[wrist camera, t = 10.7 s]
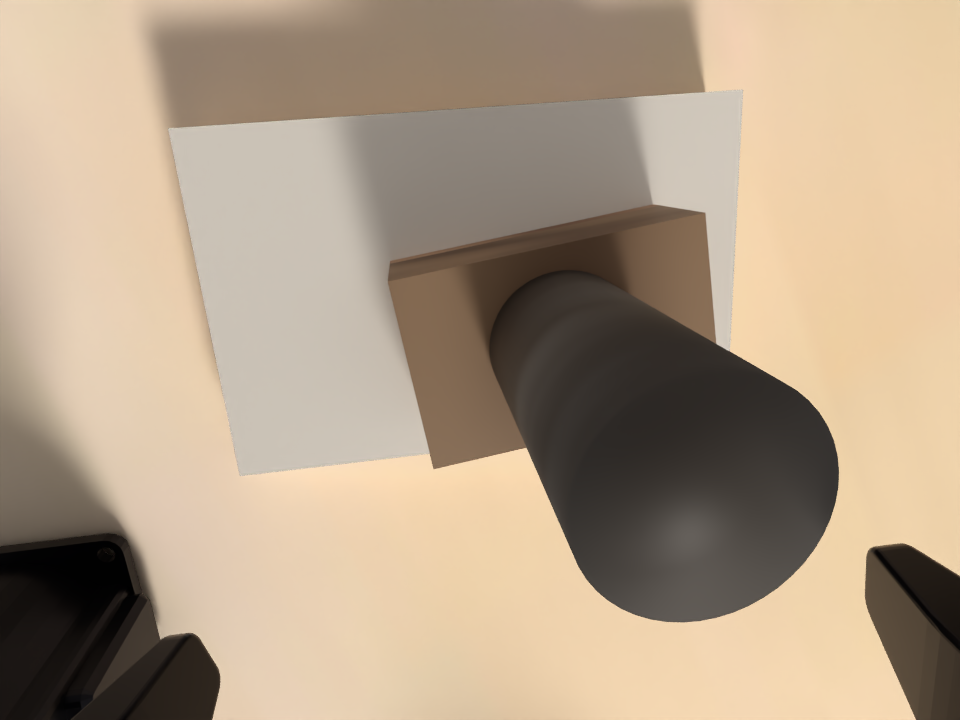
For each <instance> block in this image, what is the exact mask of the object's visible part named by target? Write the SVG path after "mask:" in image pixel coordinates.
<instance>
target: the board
mask: <svg viewBox="0 0 960 720" xmlns="http://www.w3.org/2000/svg"><path fill="white" fill-rule="evenodd" d="M742 100H743V90H730V91H715V92H700V93H685V94H670V95H656V96H641V97H626V98H611V99H596V100H581V101H566V102H552V103H537V104H522V105H507V106H492V107H477V108H463V109H448V110H433V111H418V112H403V113H388V114H374V115H359V116H344V117H329V118H314V119H299V120H285V121H270V122H255V123H240V124H225V125H210V126H196V127H181V128H168V131H169V136H170V141H171V145H172V150H173V155H174V160H175V165H176V170H177V174H178V179H179V184H180V189H181V194H182V199H183V203H184V208H185V213H186V218H187V223H188V228H189V232H190V237H191V242H192V247H193V252H194V257H195V261H196V266H197V271H198V276H199V281H200V286H201V290H202V295H203V300H204V305H205V310H206V315H207V320H208V324H209V329H210V334H211V339H212V344H213V349H214V353H215V358H216V363H217V368H218V373H219V378H220V382H221V387H222V392H223V397H224V402H225V407H226V411H227V416H228V421H229V426H230V431H231V436H232V440H233V445H234V450H235V455H236V460H237V465H238V469H239V474H240V476H245V475H253V474H262V473H270V472H279V471H287V470H296V469H304V468H313V467H321V466H330V465H338V464H347V463H355V462H364V461H372V460H381V459H389V458H398V457H406V456H415V455H423V454H430V452H429V448H428V444H427V440H426V436H425V432H424V428H423V424H422V420H421V416H420V412H419V407H418V403H417V399H416V395H415V391H414V387H413V383H412V379H411V375H410V371H409V367H408V363H407V359H406V355H405V351H404V346H403V342H402V338H401V334H400V330H399V326H398V322H397V318H396V314H395V310H394V306H393V302H392V298H391V294H390V290H389V285H388V274H389V266H390V261H392V260H397V259H401V258H406V257H411V256H415V255H420V254H425V253H429V252H434V251H439V250H443V249H448V248H453V247H457V246H462V245H466V244H471V243H476V242H480V241H485V240H490V239H494V238H499V237H504V236H508V235H513V234H518V233H522V232H527V231H531V230H536V229H541V228H545V227H550V226H555V225H559V224H564V223H569V222H573V221H578V220H583V219H587V218H592V217H596V216H601V215H606V214H610V213H615V212H620V211H624V210H629V209H634V208H638V207H643V206H648V205H652V204H655V205H661V206H668V207H674V208H680V209H686V210H692V211H698V212H704V213H705V214H706V226H707V238H708V250H709V262H710V274H711V286H712V298H713V310H714V322H715V334H716V344H717V345H719V346H721V347H723V348H724V349H726V350H728V351H730V340H731V320H732V300H733V280H734V260H735V240H736V220H737V200H738V180H739V160H740V140H741V120H742Z"/></svg>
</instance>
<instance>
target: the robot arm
mask: <svg viewBox="0 0 960 720" xmlns="http://www.w3.org/2000/svg"><path fill="white" fill-rule="evenodd" d="M103 548H110V549H111V550H113V551H114V553H115V555H111V554H108V553H106V552H105V551H104V549H103ZM865 600H866V605H867V609H868V612H869V614H870V617H871V619H872V621H873V624H874V626H875V628H876V630H877V633H878V635H879V637H880V639H881V642H882V644H883V646H884V648H885V651H886V653H887V655H888V658H889V660H890V662H891V664H892V667H893V669H894V671H895V673H896V676H897V678H898V680H899V682H900V685H901V687H902V689H903V691H904V694H905V696H906V698H907V700H908V703H909V705H910V707H911V709H912V712H913V714H914V716H915V718H916V720H960V576H959V575H957V574H956V573H954V572H953V571H951V570H949V569H948V568H946V567H944V566H943V565H941V564H940V563H938V562H936V561H935V560H933V559H931V558H930V557H928V556H927V555H925V554H923V553H922V552H920V551H919V550H917V549H915V548H914V547H912V546H909V545H907V544H901V543H900V544H892V545H884V546H876V547H872V548H870V549H869V551H868V553H867V557H866V580H865ZM219 689H220V673H219V669H218V667H217V666H216V664H215V662H214V661H213V659H212V658H211V656H210V654H209V653H208V651H207V649H206V648H205V646H204V645H203V643H202V641H201V640H200V638H199V637H198V636H197V635H195V634H193V633H185V634H177V635H170V636H167V637H165V638H163V639H161V640H160V637H159V633H158V629H157V626H156V622H155V618H154V615H153V611H152V607H151V604H150V600H149V599H148V598H147V597H146V596H145V595H144V594H142V591H141V588H140V584H139V580H138V577H137V573H136V570H135V566H134V562H133V559H132V555H131V552H130V548H129V545H128V543H127V541H126V540H125V539H124V538H123V537H122V536H120V535H117V534H111V533H107V534H99V535H91V536H83V537H74V538H66V539H58V540H50V541H42V542H34V543H26V544H18V545H10V546H2V547H0V720H212V718H213V714H214V710H215V706H216V702H217V697H218V693H219Z"/></svg>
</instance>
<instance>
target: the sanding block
mask: <svg viewBox="0 0 960 720" xmlns="http://www.w3.org/2000/svg"><path fill="white" fill-rule="evenodd" d="M388 285H389V290H390V294H391V298H392V302H393V306H394V310H395V314H396V318H397V322H398V326H399V330H400V334H401V338H402V342H403V346H404V351H405V355H406V359H407V363H408V367H409V371H410V375H411V379H412V383H413V387H414V391H415V395H416V399H417V403H418V407H419V412H420V416H421V420H422V424H423V428H424V432H425V436H426V440H427V444H428V448H429V452H430V456H431V460H432V464H433V468H434V469H436V468H441V467H445V466H449V465H454V464H458V463H462V462H466V461H471V460H475V459H479V458H484V457H488V456H492V455H496V454H501V453H505V452H509V451H514V450H518V449H522V448H526V447H527V450H528V452H529V454H530V457H531V459H532V461H533V463H534V466H535V468H536V470H537V473H538V475H539V477H540V479H541V482H542V484H543V486H544V489H545V491H546V493H547V496H548V498H549V500H550V502H551V505H552V507H553V509H554V512H555V514H556V516H557V518H558V521H559V523H560V525H561V528H562V530H563V532H564V534H565V537H566V539H567V541H568V544H569V546H570V548H571V550H572V553H573V555H574V557H575V560H576V562H577V564H578V566H579V568H580V570H581V571H582V573H583V574H584V576H585V578H586V579H587V580H588V582H589V583H590V584H591V585H592V586H593V587H594V588H595V590H596V591H597V592H599V593H600V594H601V595H602V596H603V597H605V598H606V599H607V600H608V601H610V602H611V603H613V604H615V605H616V606H618V607H619V608H621V609H623V610H625V611H628V612H630V613H632V614H635V615H638V616H641V617H644V618H648V619H652V620H659V621H665V622H692V621H702V620H707V619H712V618H717V617H720V616H723V615H726V614H730V613H733V612H735V611H738V610H740V609H742V608H745V607H747V606H749V605H751V604H753V603H755V602H756V601H758V600H760V599H762V598H764V597H765V596H767V595H768V594H769V593H771V592H772V591H774V590H775V589H777V588H778V587H779V586H780V585H782V584H783V583H784V582H785V581H786V580H787V579H789V578H790V577H791V576H792V575H793V574H794V573H795V572H796V571H797V570H798V569H799V568H800V567H801V566H802V565H803V563H804V562H805V561H806V560H807V558H808V557H809V556H810V554H811V553H812V552H813V550H814V549H815V547H816V546H817V544H818V542H819V541H820V539H821V537H822V536H823V534H824V532H825V530H826V527H827V525H828V523H829V521H830V518H831V515H832V512H833V509H834V506H835V502H836V496H837V491H838V480H839V467H838V457H837V452H836V448H835V444H834V440H833V438H832V435H831V433H830V431H829V428H828V426H827V424H826V423H825V421H824V419H823V418H822V416H821V415H820V413H819V412H818V411H817V409H816V408H815V407H814V406H813V405H812V404H811V403H810V401H809V400H808V399H806V398H805V397H804V396H803V395H801V394H800V393H799V392H798V391H797V390H795V389H793V388H792V387H790V386H788V385H787V384H785V383H783V382H782V381H780V380H778V379H776V378H775V377H773V376H771V375H769V374H768V373H766V372H764V371H763V370H761V369H759V368H757V367H756V366H754V365H752V364H750V363H749V362H747V361H745V360H743V359H742V358H740V357H738V356H737V355H735V354H733V353H731V352H730V351H728V350H726V349H724V348H723V347H721V346H719V345H717V344H716V334H715V322H714V310H713V298H712V286H711V274H710V262H709V250H708V238H707V226H706V214H705V213H704V212H698V211H692V210H686V209H680V208H674V207H668V206H661V205H655V204H652V205H648V206H643V207H638V208H634V209H629V210H624V211H620V212H615V213H610V214H606V215H601V216H596V217H592V218H587V219H583V220H578V221H573V222H569V223H564V224H559V225H555V226H550V227H545V228H541V229H536V230H531V231H527V232H522V233H518V234H513V235H508V236H504V237H499V238H494V239H490V240H485V241H480V242H476V243H471V244H466V245H462V246H457V247H453V248H448V249H443V250H439V251H434V252H429V253H425V254H420V255H415V256H411V257H406V258H401V259H397V260H392V261H390V266H389V274H388Z"/></svg>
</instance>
